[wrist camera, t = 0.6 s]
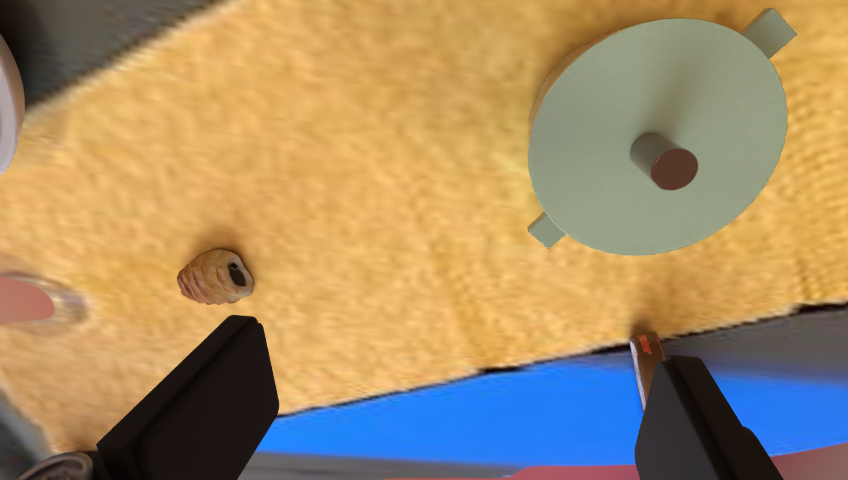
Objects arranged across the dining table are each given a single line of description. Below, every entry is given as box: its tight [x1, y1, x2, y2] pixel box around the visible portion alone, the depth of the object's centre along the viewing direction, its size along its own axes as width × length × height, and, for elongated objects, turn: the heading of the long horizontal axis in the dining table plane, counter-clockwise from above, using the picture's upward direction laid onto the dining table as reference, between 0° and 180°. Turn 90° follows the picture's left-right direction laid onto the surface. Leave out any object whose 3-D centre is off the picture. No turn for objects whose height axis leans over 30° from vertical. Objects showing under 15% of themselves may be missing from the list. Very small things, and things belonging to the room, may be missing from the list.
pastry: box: [177, 249, 254, 305], centre depth 51 cm, size 9×7×4 cm
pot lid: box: [528, 18, 787, 256], centre depth 28 cm, size 17×17×6 cm
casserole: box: [528, 8, 797, 249], centre depth 34 cm, size 16×21×8 cm
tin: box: [629, 331, 666, 413], centre depth 45 cm, size 15×3×8 cm, turn 19°
